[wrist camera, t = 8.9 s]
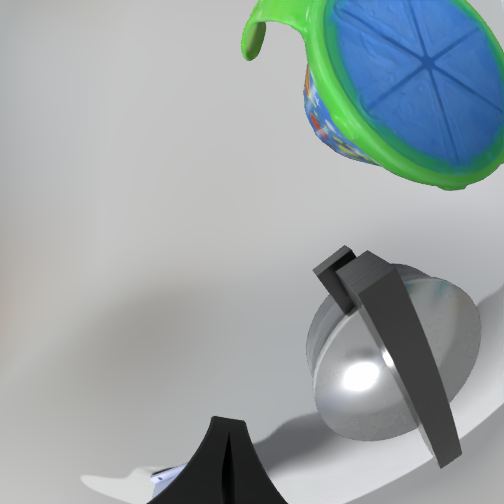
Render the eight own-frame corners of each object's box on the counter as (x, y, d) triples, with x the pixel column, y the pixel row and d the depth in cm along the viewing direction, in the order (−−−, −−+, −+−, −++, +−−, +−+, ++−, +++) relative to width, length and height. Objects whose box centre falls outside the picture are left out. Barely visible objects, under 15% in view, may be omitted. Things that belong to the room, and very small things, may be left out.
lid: (487, 385, 19) (513, 411, 15) (366, 468, 20) (380, 503, 16) (432, 197, 15) (477, 203, 11) (248, 320, 17) (248, 360, 13)
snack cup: (460, 111, 18) (553, 90, 8) (415, 227, 20) (513, 261, 10) (284, 4, 17) (306, -90, 7) (216, 120, 18) (186, 61, 9)
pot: (465, 357, 23) (488, 378, 19) (365, 433, 24) (377, 462, 20) (386, 195, 20) (414, 198, 16) (247, 301, 21) (247, 327, 17)
